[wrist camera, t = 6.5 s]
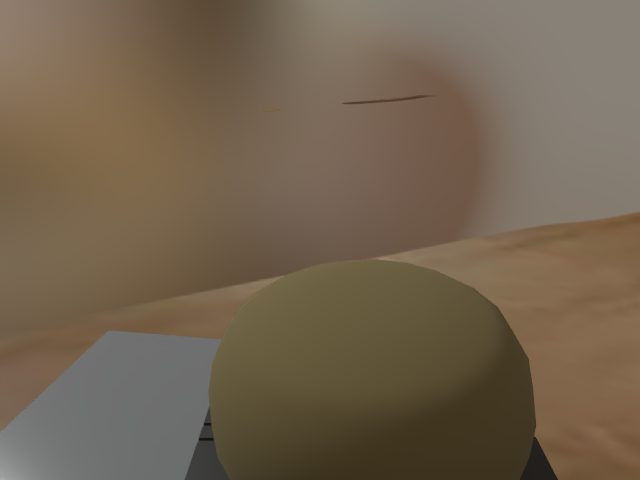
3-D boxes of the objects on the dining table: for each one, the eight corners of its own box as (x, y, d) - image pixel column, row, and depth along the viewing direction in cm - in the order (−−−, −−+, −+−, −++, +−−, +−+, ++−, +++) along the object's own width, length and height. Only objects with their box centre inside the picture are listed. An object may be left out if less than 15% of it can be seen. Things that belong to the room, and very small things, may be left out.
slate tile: (-48, 500, 17) (-56, 484, 17) (111, 342, 26) (108, 330, 26) (201, 542, 15) (197, 525, 15) (281, 356, 24) (280, 344, 24)
